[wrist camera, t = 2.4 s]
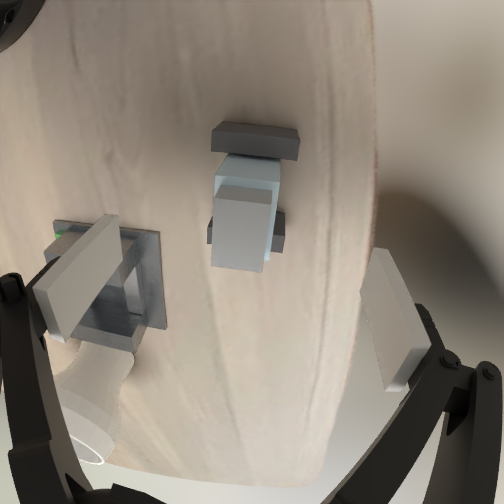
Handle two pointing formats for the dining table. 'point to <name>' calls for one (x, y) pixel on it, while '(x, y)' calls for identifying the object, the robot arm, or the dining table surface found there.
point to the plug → (244, 211)
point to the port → (120, 289)
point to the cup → (93, 399)
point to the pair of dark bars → (258, 144)
